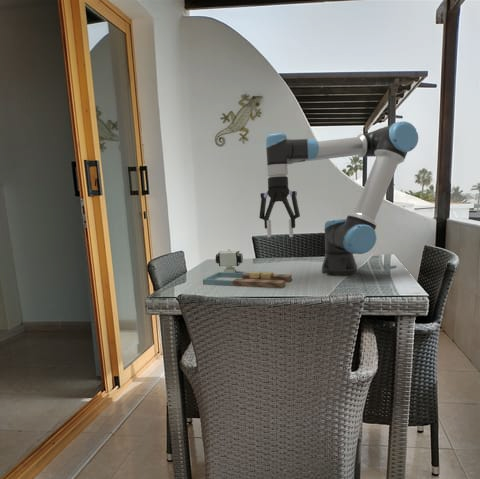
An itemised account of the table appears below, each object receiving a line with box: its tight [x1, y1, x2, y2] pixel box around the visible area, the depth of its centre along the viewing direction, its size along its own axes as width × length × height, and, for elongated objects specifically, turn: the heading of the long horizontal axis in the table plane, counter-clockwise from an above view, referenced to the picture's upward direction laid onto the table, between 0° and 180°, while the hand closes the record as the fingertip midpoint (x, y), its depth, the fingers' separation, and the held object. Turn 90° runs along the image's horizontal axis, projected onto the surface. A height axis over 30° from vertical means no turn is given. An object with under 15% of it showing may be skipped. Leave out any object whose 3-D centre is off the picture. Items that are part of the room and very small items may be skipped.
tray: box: [202, 271, 246, 287], centre depth 147 cm, size 13×14×3 cm
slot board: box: [232, 272, 293, 289], centre depth 141 cm, size 20×14×3 cm
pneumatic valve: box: [215, 249, 244, 273], centre depth 162 cm, size 6×12×12 cm, turn 78°
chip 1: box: [249, 270, 264, 279], centre depth 142 cm, size 4×4×4 cm
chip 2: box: [261, 271, 275, 280], centre depth 140 cm, size 4×4×4 cm
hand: (280, 236), depth 136 cm, fingers open, 8 cm apart
